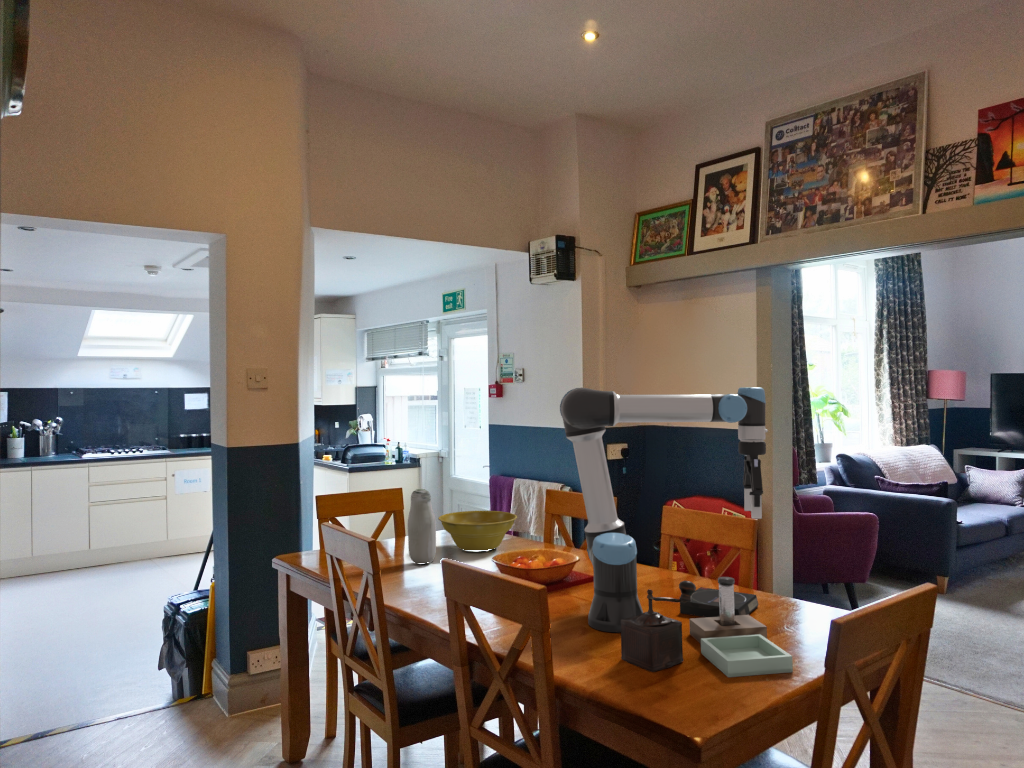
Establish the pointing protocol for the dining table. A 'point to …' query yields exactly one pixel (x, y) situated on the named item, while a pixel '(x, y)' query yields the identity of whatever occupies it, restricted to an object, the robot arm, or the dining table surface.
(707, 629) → the block
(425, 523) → the grey bottle
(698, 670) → the dining table surface
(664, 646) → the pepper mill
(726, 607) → the clear capped cylinder
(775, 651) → the tray
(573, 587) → the dining table surface
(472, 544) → the planter bowl
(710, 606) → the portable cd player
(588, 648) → the dining table surface
